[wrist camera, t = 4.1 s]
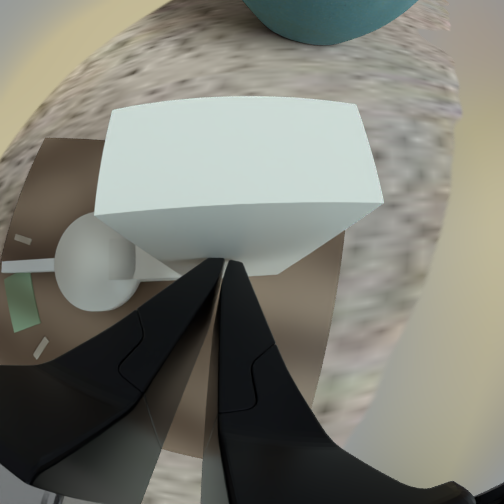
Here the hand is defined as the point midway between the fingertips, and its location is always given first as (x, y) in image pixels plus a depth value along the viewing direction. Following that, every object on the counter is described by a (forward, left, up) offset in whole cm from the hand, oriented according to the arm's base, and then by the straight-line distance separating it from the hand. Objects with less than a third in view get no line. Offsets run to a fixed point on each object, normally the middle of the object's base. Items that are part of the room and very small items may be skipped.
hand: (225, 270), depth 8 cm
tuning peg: (-1, +7, -5) cm, 9 cm away
